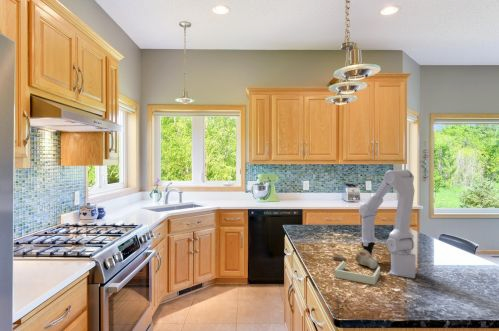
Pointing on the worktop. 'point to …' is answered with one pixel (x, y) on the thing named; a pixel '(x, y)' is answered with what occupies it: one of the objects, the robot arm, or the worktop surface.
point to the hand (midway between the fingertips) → (368, 257)
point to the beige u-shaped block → (356, 275)
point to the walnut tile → (338, 257)
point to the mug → (366, 259)
